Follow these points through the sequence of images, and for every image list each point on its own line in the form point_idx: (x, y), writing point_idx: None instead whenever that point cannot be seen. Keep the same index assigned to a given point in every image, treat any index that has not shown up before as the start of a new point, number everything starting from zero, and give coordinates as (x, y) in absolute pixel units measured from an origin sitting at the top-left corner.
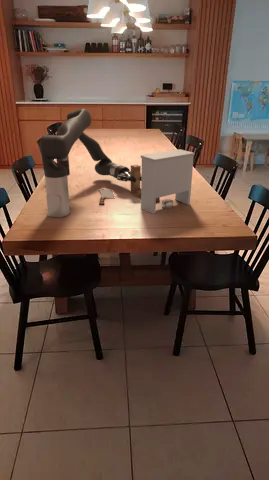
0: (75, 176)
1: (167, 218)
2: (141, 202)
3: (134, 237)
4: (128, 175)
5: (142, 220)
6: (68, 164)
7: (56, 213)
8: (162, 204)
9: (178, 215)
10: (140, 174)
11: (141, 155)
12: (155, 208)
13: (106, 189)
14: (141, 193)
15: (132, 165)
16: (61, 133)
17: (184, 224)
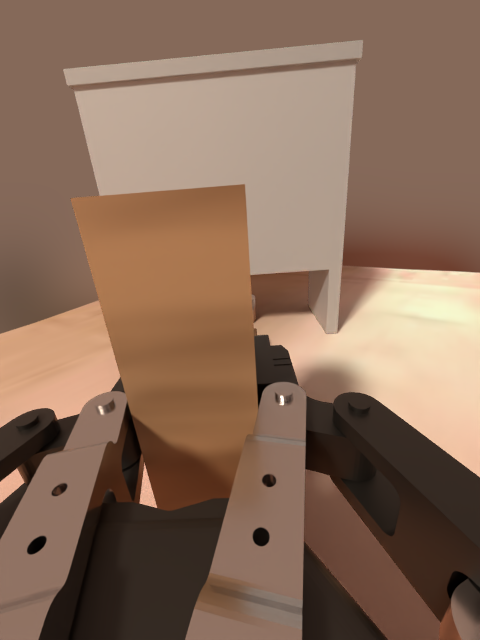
0: None
1: (294, 290)
2: (338, 307)
3: (411, 270)
4: (282, 435)
5: (368, 294)
6: None
7: None
8: (255, 309)
9: (256, 292)
10: (46, 413)
11: (359, 42)
12: (308, 289)
13: None
14: (340, 268)
15: (211, 188)
16: None
17: (278, 277)
